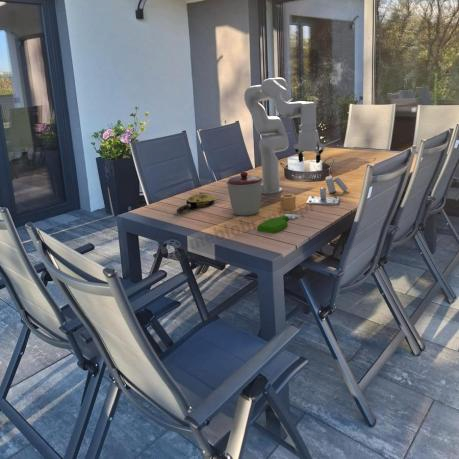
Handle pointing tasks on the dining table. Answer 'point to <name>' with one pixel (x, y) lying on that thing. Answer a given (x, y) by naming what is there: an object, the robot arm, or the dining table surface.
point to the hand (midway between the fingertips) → (309, 162)
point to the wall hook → (332, 187)
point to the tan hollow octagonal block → (288, 201)
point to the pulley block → (198, 201)
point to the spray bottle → (276, 223)
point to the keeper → (323, 199)
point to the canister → (245, 194)
